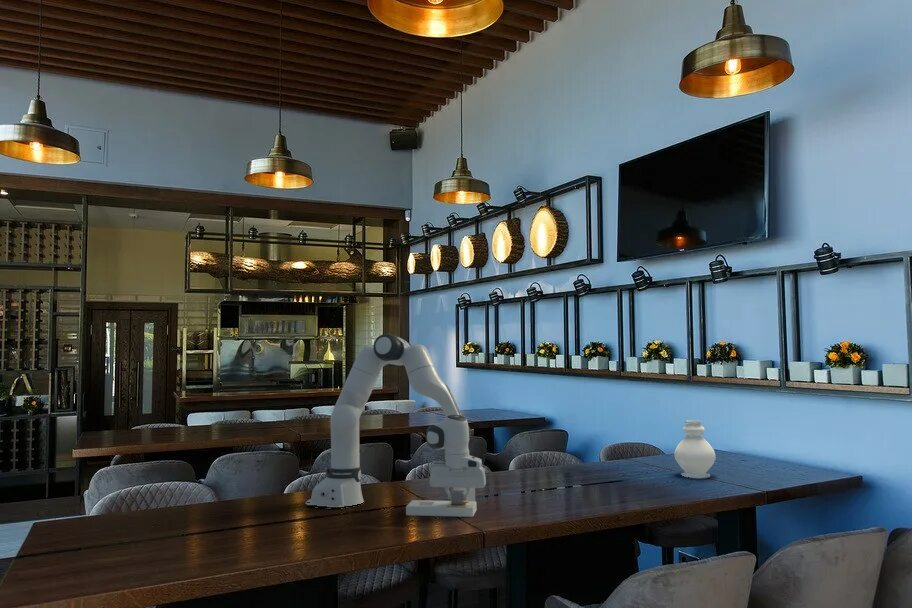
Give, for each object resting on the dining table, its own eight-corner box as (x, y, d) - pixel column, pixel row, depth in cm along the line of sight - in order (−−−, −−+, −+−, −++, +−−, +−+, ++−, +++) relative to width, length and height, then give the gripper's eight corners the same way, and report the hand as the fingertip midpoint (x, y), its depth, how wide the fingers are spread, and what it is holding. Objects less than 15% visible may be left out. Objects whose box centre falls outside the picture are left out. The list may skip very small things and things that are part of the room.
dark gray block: (451, 512, 236) (451, 492, 236) (453, 509, 240) (453, 490, 240) (462, 512, 235) (462, 492, 235) (464, 510, 239) (463, 490, 239)
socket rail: (406, 517, 235) (406, 505, 235) (412, 511, 245) (412, 499, 245) (472, 519, 231) (472, 507, 232) (476, 512, 241) (476, 500, 241)
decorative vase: (667, 473, 309) (665, 419, 311) (699, 471, 314) (697, 418, 316) (691, 480, 292) (689, 423, 294) (725, 477, 297) (722, 421, 299)
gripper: (427, 461, 237) (427, 501, 236) (483, 462, 234) (484, 502, 233) (430, 458, 243) (431, 497, 242) (486, 459, 240) (486, 498, 239)
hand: (457, 499), depth 238 cm, fingers closed on dark gray block, 4 cm apart
